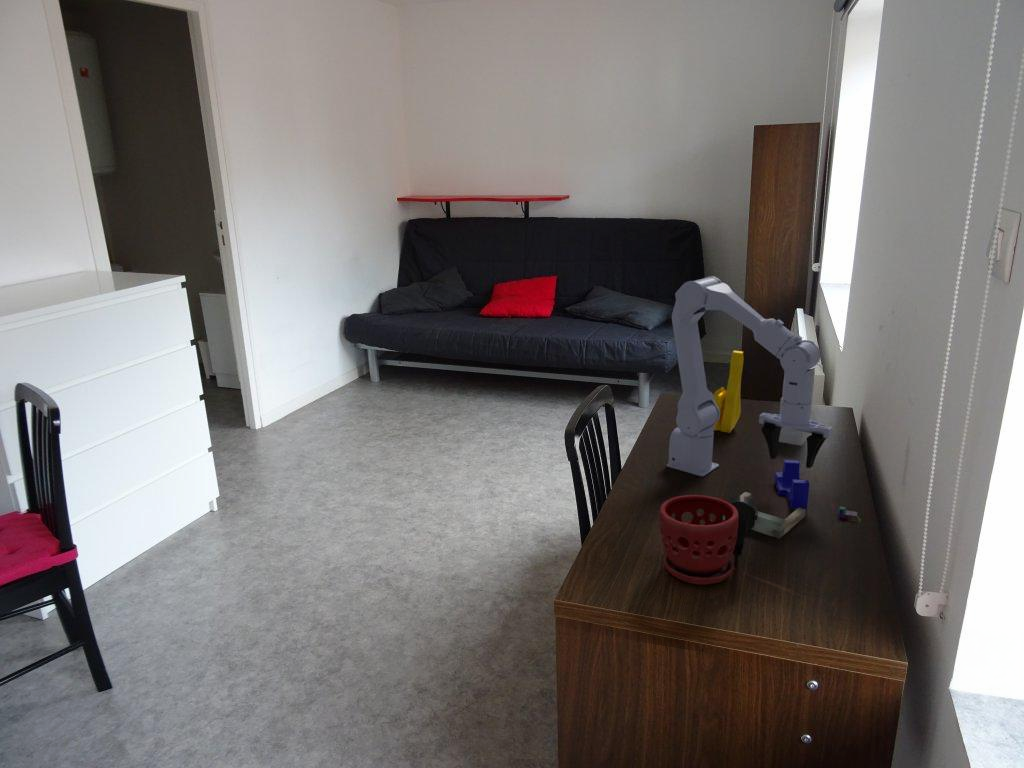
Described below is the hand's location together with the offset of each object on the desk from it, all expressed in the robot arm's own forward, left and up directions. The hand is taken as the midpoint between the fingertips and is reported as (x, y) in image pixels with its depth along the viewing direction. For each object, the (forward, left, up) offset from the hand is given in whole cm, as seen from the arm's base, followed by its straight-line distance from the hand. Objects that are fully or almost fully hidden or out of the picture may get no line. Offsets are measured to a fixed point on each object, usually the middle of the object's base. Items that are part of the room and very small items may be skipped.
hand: (791, 461), depth 151 cm
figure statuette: (-29, +28, -8) cm, 41 cm away
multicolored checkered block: (+13, -2, -9) cm, 16 cm away
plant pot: (0, -39, -8) cm, 40 cm away
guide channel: (0, -13, -8) cm, 15 cm away
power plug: (+4, -31, -8) cm, 32 cm away
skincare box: (-12, +30, -8) cm, 33 cm away
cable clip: (0, 0, -8) cm, 8 cm away
